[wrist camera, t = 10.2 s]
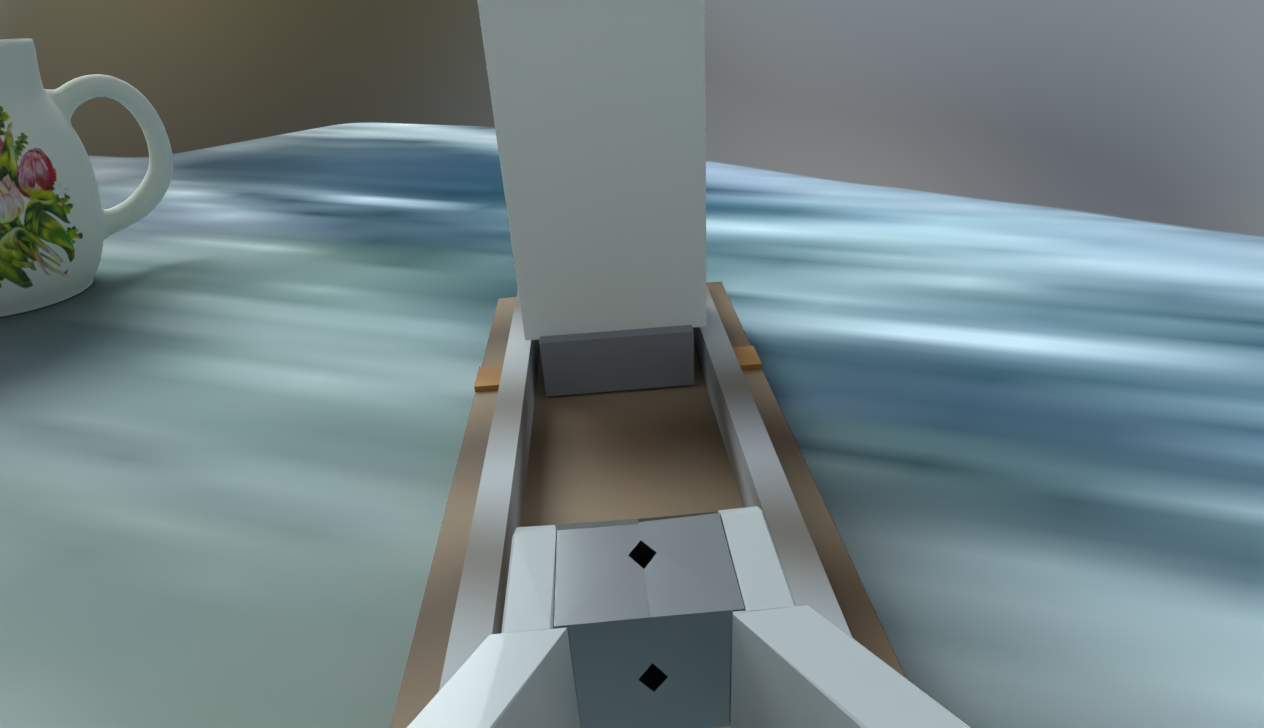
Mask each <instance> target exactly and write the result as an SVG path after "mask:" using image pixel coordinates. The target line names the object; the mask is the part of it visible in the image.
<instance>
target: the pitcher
mask: <svg viewBox="0 0 1264 728" xmlns="http://www.w3.org/2000/svg"><path fill="white" fill-rule="evenodd" d="M95 97H109V98H112V99H115V100H117V101H118V102H120V103H121V104H123V105H124V106H125V107H126V108H127V109H128V110H129V111H130V112H131V113H132V114H133V116H134V117H135V118H136V120H137V121H138V123H139V125H140V126H141V128H142V130H143V133H144V135H145V138H146V141H147V145H148V150H149V167H148V171H147V174H146V176H145V177H144V179H143V181H142V182H141V184H140V185H139V187H138V188H137V189H136V190H135V192H134V193H133V194H132V195H131V196H130V197H129V198H128V199H126V200H125V201H124V202H122V203H121V204H119V205H117V206H115V207H112V208H110V209H102V207H101V200H100V195H99V190H98V184H97V180H96V177H95V174H94V171H93V167H92V165H91V162H90V160H89V157H88V155H87V152H86V150H85V149H84V146H83V144H82V142H81V141H80V138H79V137H78V135H77V133H76V132H75V130H74V129H73V128H72V126H71V120H70V118H71V116H72V114H73V113H74V111H75V109H76V108H77V107H78V106H79V105H80V104H82V103H83V102H85V101H87V100H89V99H91V98H95ZM172 172H173V155H172V151H171V146H170V141H169V138H168V136H167V133H166V130H165V128H164V125H163V123H162V121H161V119H160V117H159V116H158V114H157V112H156V110H155V109H154V108H153V106H152V105H151V104H150V103H149V101H148V100H147V99H146V97H144V96H143V95H142V94H141V93H140V92H139V91H138V90H137V89H136V88H134V87H133V86H131V85H129V84H128V83H126V82H125V81H123V80H120V79H117V78H115V77H112V76H108V75H101V74H95V75H86V76H82V77H79V78H75V79H73V80H71V81H69V82H67V83H65V84H64V85H62V86H61V87H59V88H57V89H54V90H48V89H44V88H43V85H42V81H41V77H40V73H39V69H38V63H37V58H36V51H35V46H34V43H33V40H32V39H3V40H0V317H3V316H9V315H14V314H19V313H24V312H28V311H32V310H36V309H39V308H43V307H46V306H49V305H52V304H55V303H58V302H61V301H63V300H66V299H68V298H71V297H73V296H75V295H77V294H79V293H81V292H82V291H84V290H85V289H87V288H88V287H89V286H91V285H92V283H93V281H94V279H93V277H94V275H95V273H96V271H97V268H98V266H99V263H100V260H101V254H102V248H103V241H104V240H105V239H106V238H107V237H109V236H110V235H112V234H114V233H116V232H118V231H120V230H122V229H124V228H126V227H128V226H130V225H132V224H134V223H136V222H138V221H139V220H141V219H142V218H144V217H145V216H147V215H148V214H149V213H150V212H151V211H152V210H153V209H154V208H155V207H156V206H157V205H158V203H159V202H160V201H161V199H162V198H163V196H164V194H165V193H166V191H167V189H168V186H169V184H170V182H171V177H172Z"/></svg>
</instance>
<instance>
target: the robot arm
mask: <svg viewBox="0 0 1264 728" xmlns="http://www.w3.org/2000/svg"><path fill="white" fill-rule="evenodd" d="M715 727H730V728H971V727H969V726H968V725H967V724H965V723H964V722H963V721H961V720H960V719H959V718H958V717H956V716H955V715H954V714H952V713H951V712H950V711H948V710H947V709H946V708H944V707H943V706H942V705H940V704H939V703H938V702H936V701H935V700H934V699H932V698H931V697H930V696H929V695H927V694H926V693H925V692H923V691H922V690H921V689H919V688H918V687H917V686H915V685H914V684H913V683H911V682H910V681H909V680H907V679H906V678H905V677H903V676H902V675H901V674H900V673H898V672H897V671H896V670H894V669H893V668H892V667H890V666H889V665H888V664H886V663H885V662H884V661H882V660H881V659H880V658H878V657H877V656H876V655H874V654H873V653H872V652H870V651H869V650H868V649H867V648H865V647H864V646H863V645H861V644H860V643H859V642H857V641H856V640H855V639H853V638H852V637H851V636H849V635H848V634H847V633H845V632H844V631H843V630H841V629H840V628H839V627H838V626H836V625H835V624H834V623H832V622H831V621H830V620H828V619H827V618H826V617H824V616H823V615H822V614H820V613H819V612H818V611H816V610H815V609H814V608H812V607H811V606H810V605H803V606H796V603H795V601H794V598H793V595H792V592H791V589H790V587H789V584H788V581H787V578H786V575H785V573H784V570H783V567H782V564H781V561H780V559H779V556H778V553H777V550H776V547H775V545H774V542H773V539H772V536H771V533H770V531H769V528H768V525H767V522H766V519H765V517H764V514H763V511H762V510H761V509H760V508H759V507H758V506H755V507H746V508H736V509H727V510H718V512H706V513H695V514H685V515H674V516H664V517H653V518H642V519H627V520H612V521H596V522H581V523H565V524H558V526H557V525H545V526H530V527H517V528H516V530H515V532H514V534H513V537H512V545H511V554H510V563H509V571H508V580H507V589H506V597H505V606H504V614H503V623H502V632H501V633H500V634H491V635H488V636H487V637H486V638H485V639H484V640H483V641H482V643H481V644H480V645H479V646H478V647H477V648H476V649H475V650H474V652H473V653H472V654H471V655H470V656H469V657H468V658H467V660H466V661H465V662H464V663H463V664H462V665H461V666H460V668H459V669H458V670H457V671H456V672H455V673H454V674H453V675H452V677H451V678H450V679H449V680H448V681H447V682H446V683H445V685H444V686H443V687H442V688H441V689H440V690H439V691H438V693H437V694H436V695H435V696H434V697H433V698H432V699H431V700H430V702H429V703H428V704H427V705H426V706H425V707H424V708H423V710H422V711H421V712H420V713H419V714H418V715H417V716H416V718H415V719H414V720H413V721H412V722H411V723H410V724H409V725H408V727H407V728H715Z"/></svg>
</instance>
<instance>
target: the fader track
mask: <svg viewBox="0 0 1264 728" xmlns="http://www.w3.org/2000/svg"><path fill="white" fill-rule="evenodd" d="M706 325H707V326H705V327H692V328H693V331H694V385H684V386H671V387H659V388H646V389H634V390H621V391H609V392H597V393H584V394H572V395H559V396H547V397H546V391H545V383H544V375H543V368H542V360H541V352H540V345H539V342H540V339H538V340H525V335H524V328H523V321H522V314H521V307H520V300H519V293H518V292H517V297H513V298H500V299H499V300H498V304H497V308H496V312H495V316H494V319H493V323H492V327H491V331H490V335H489V339H488V343H487V347H486V351H485V355H484V359H483V363H482V367H479V371H478V375H477V379H476V382H475V386H474V387H475V395H474V399H473V403H472V407H471V411H470V415H469V419H468V423H467V427H466V431H465V435H464V439H463V443H462V447H461V451H460V455H459V458H458V462H457V466H456V470H455V474H454V478H453V482H452V486H451V490H450V494H449V498H448V502H447V506H446V510H445V514H444V518H443V522H442V526H441V530H440V534H439V538H438V542H437V546H436V550H435V554H434V558H433V562H432V566H431V570H430V574H429V578H428V582H427V586H426V590H425V594H424V597H423V601H422V605H421V609H420V613H419V617H418V621H417V625H416V629H415V633H414V637H413V641H412V645H411V649H410V653H409V657H408V661H407V665H406V669H405V673H404V677H403V681H402V685H401V689H400V693H399V697H398V701H397V705H396V709H395V713H394V717H393V721H392V725H391V728H407V727H408V725H409V724H410V723H411V722H412V721H413V720H414V719H415V718H416V716H417V715H418V714H419V713H420V712H421V711H422V710H423V708H424V707H425V706H426V705H427V704H428V703H429V702H430V700H431V699H432V698H433V697H434V696H435V695H436V694H437V693H438V691H439V690H440V689H441V688H442V687H443V686H444V685H445V683H446V682H447V681H448V680H449V679H450V678H451V677H452V675H453V674H454V673H455V672H456V671H457V670H458V669H459V668H460V666H461V665H462V664H463V663H464V662H465V661H466V660H467V658H468V657H469V656H470V655H471V654H472V653H473V652H474V650H475V649H476V648H477V647H478V646H479V645H480V644H481V643H482V641H483V640H484V639H485V638H486V637H487V636H488V635H491V634H500V633H501V632H502V623H503V614H504V606H505V597H506V589H507V580H508V571H509V563H510V554H511V545H512V537H513V534H514V532H515V530H516V528H517V527H530V526H545V525H557V526H558V524H565V523H581V522H596V521H612V520H627V519H642V518H653V517H664V516H674V515H685V514H695V513H706V512H718V510H727V509H736V508H746V507H755V506H758V507H759V508H760V509H761V510H762V511H763V514H764V517H765V519H766V522H767V525H768V528H769V531H770V533H771V536H772V539H773V542H774V545H775V547H776V550H777V553H778V556H779V559H780V561H781V564H782V567H783V570H784V573H785V575H786V578H787V581H788V584H789V587H790V589H791V592H792V595H793V598H794V601H795V603H796V606H803V605H810V606H811V607H812V608H814V609H815V610H816V611H818V612H819V613H820V614H822V615H823V616H824V617H826V618H827V619H828V620H830V621H831V622H832V623H834V624H835V625H836V626H838V627H839V628H840V629H841V630H843V631H844V632H845V633H847V634H848V635H849V636H851V637H852V638H853V639H855V640H856V641H857V642H859V643H860V644H861V645H863V646H864V647H865V648H867V649H868V650H869V651H870V652H872V653H873V654H874V655H876V656H877V657H878V658H880V659H881V660H882V661H884V662H885V663H886V664H888V665H889V666H890V667H892V668H893V669H894V670H896V671H897V672H898V673H900V674H901V675H902V676H903V677H905V674H904V672H903V670H902V668H901V666H900V664H899V662H898V659H897V657H896V655H895V653H894V651H893V649H892V647H891V644H890V642H889V640H888V638H887V636H886V634H885V632H884V629H883V627H882V625H881V623H880V621H879V619H878V617H877V614H876V612H875V610H874V608H873V606H872V604H871V602H870V599H869V597H868V595H867V593H866V591H865V589H864V587H863V584H862V582H861V580H860V578H859V576H858V574H857V572H856V569H855V567H854V565H853V563H852V561H851V559H850V557H849V554H848V552H847V550H846V548H845V546H844V544H843V542H842V539H841V537H840V535H839V533H838V531H837V529H836V527H835V524H834V522H833V520H832V518H831V516H830V514H829V512H828V509H827V507H826V505H825V503H824V501H823V499H822V497H821V494H820V492H819V490H818V488H817V486H816V484H815V482H814V479H813V477H812V475H811V473H810V471H809V469H808V467H807V464H806V462H805V460H804V458H803V456H802V454H801V452H800V449H799V447H798V445H797V443H796V441H795V439H794V437H793V434H792V432H791V430H790V428H789V426H788V424H787V422H786V419H785V417H784V415H783V413H782V411H781V409H780V407H779V405H778V402H777V400H776V398H775V396H774V394H773V392H772V390H771V387H770V385H769V383H768V381H767V379H766V377H765V375H764V372H763V370H762V363H761V361H760V358H759V356H758V354H757V352H756V350H755V348H754V346H751V345H750V342H749V340H748V338H747V336H746V334H745V332H744V330H743V327H742V325H741V323H740V321H739V319H738V317H737V315H736V312H735V310H734V308H733V306H732V304H731V302H730V300H729V297H728V295H727V293H726V291H725V289H724V287H723V285H722V282H711V283H706ZM905 678H906V677H905ZM715 728H730V727H715Z"/></svg>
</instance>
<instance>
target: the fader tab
mask: <svg viewBox="0 0 1264 728" xmlns="http://www.w3.org/2000/svg"><path fill="white" fill-rule="evenodd" d="M477 1H478V8H479V16H480V23H481V30H482V37H483V43H484V51H485V58H486V65H487V72H488V79H489V87H490V94H491V100H492V108H493V115H494V122H495V129H496V136H497V143H498V151H499V158H500V165H501V172H502V179H503V186H504V193H505V200H506V207H507V215H508V222H509V229H510V236H511V243H512V250H513V257H514V264H515V271H516V279H517V286H518V293H519V300H520V307H521V314H522V321H523V328H524V335H525V340H538V339H540V342H539V345H540V352H541V360H542V368H543V375H544V383H545V391H546V397H547V396H559V395H572V394H584V393H597V392H609V391H621V390H634V389H646V388H659V387H671V386H684V385H694V331H693V328H692V327H705V326H707V325H706V158H705V8H704V7H705V2H704V1H705V0H477Z"/></svg>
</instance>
